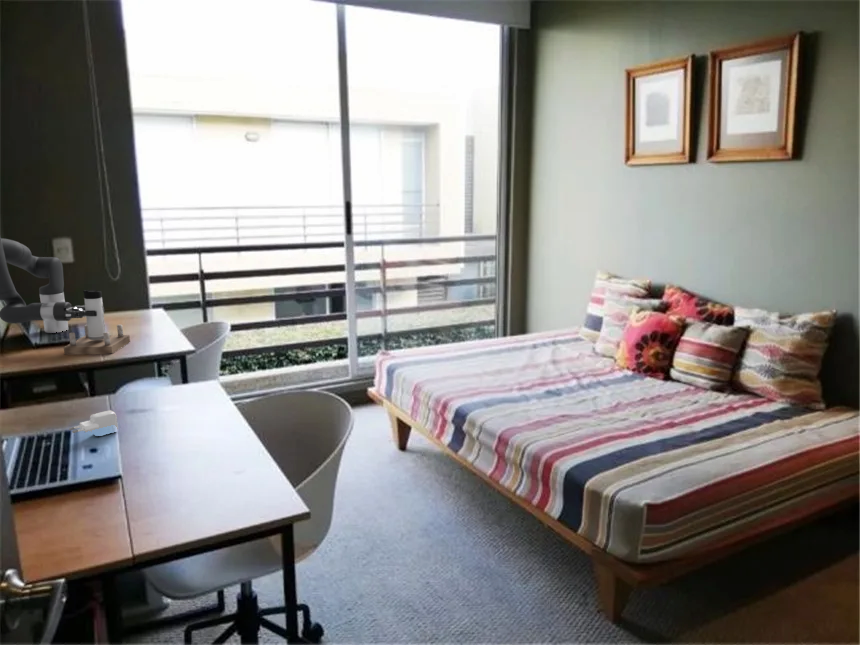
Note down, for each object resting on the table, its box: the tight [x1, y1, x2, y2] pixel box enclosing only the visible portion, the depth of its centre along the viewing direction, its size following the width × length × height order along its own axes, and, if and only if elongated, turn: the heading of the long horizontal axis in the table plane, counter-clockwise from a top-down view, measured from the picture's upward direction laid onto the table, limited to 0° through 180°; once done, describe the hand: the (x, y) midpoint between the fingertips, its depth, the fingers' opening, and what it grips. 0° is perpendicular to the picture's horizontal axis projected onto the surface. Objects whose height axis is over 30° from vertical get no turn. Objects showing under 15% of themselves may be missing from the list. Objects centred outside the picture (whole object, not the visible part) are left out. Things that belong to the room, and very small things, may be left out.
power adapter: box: [68, 409, 119, 434], centre depth 166 cm, size 11×5×6 cm, turn 137°
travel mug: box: [82, 289, 106, 340], centre depth 248 cm, size 6×7×20 cm
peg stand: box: [63, 324, 131, 356], centre depth 251 cm, size 18×18×8 cm
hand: (100, 311), depth 249 cm, fingers closed on travel mug, 6 cm apart
